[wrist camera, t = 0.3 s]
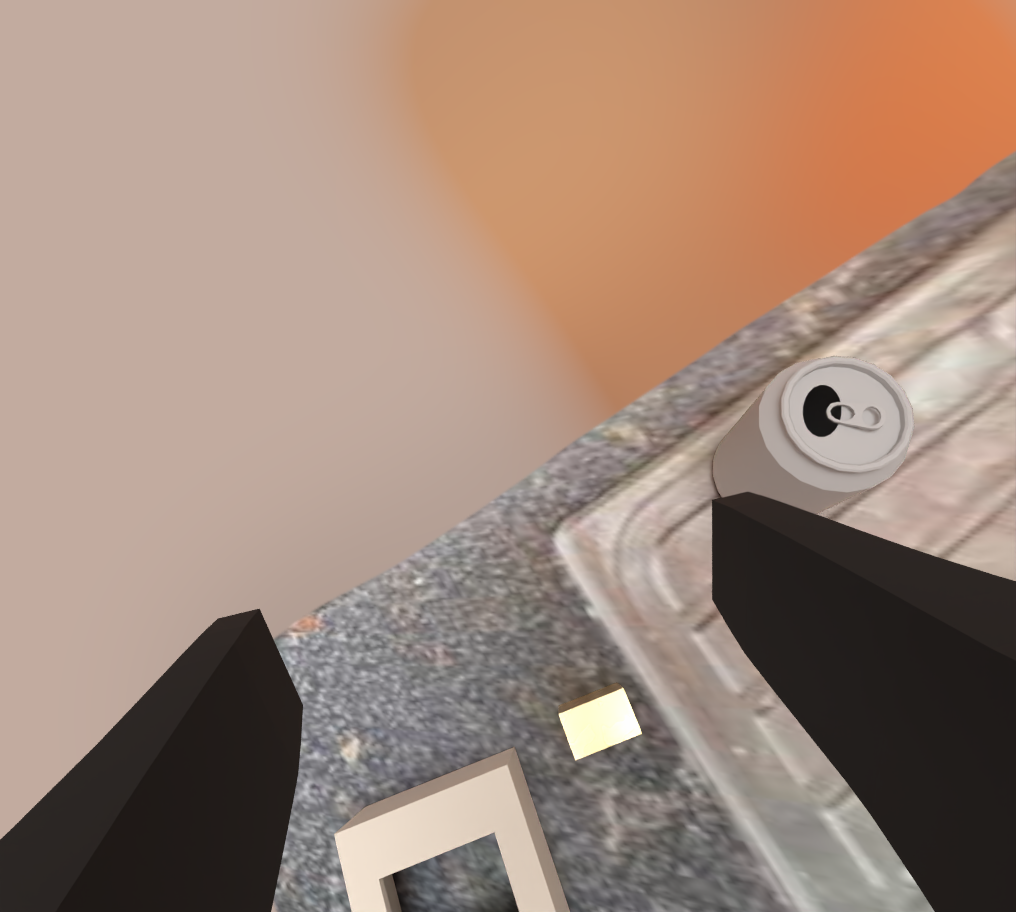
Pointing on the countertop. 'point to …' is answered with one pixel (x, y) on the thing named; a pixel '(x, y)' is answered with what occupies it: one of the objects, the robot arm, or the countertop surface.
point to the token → (598, 720)
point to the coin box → (451, 835)
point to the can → (817, 435)
